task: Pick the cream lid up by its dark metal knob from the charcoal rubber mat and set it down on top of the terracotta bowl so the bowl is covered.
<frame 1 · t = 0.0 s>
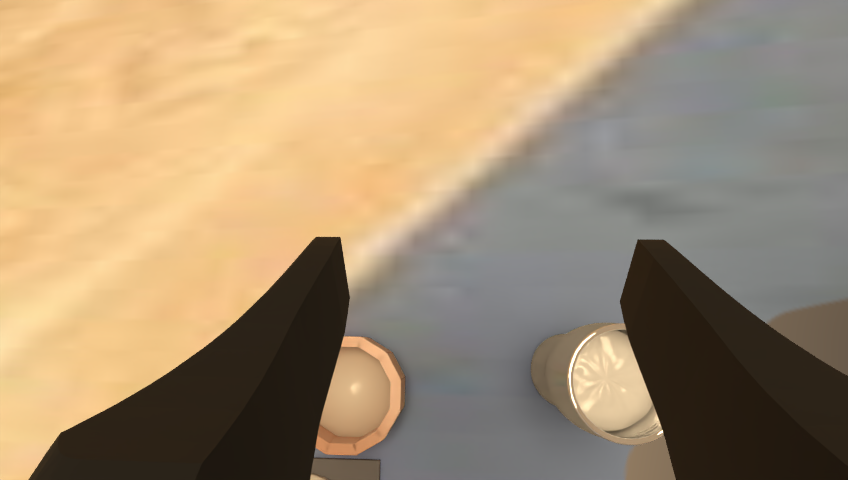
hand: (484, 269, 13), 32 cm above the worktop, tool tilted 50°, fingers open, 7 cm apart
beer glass: (566, 370, 43), on the worktop
bowl: (353, 390, 44), on the worktop
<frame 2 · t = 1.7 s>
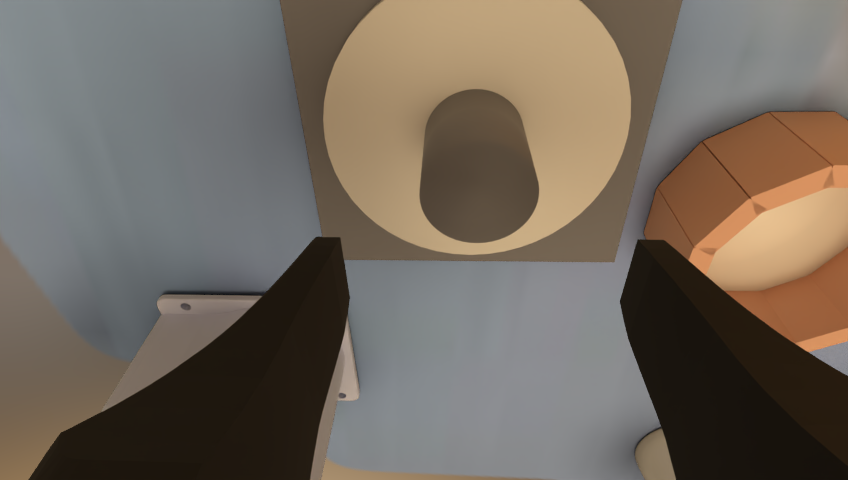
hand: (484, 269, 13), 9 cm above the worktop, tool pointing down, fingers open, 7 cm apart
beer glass: (683, 445, 32), on the worktop
mat: (472, 123, 20), on the worktop
bowl: (757, 211, 21), on the worktop
lid: (473, 127, 19), resting on mat
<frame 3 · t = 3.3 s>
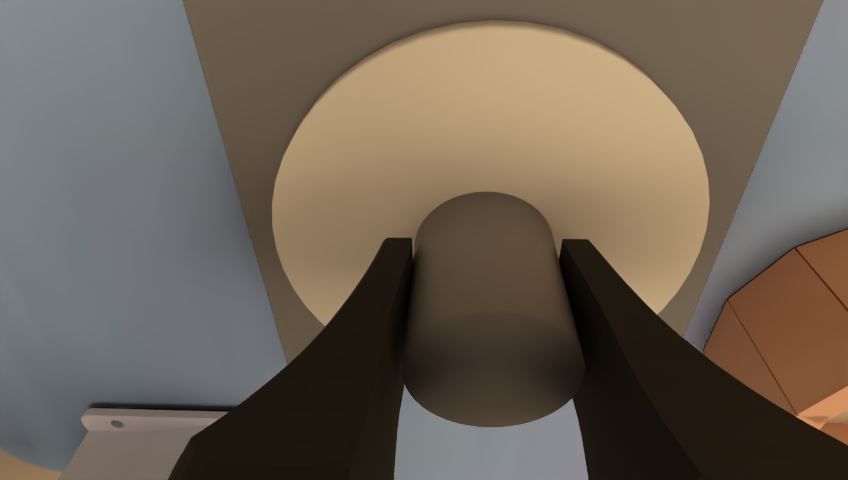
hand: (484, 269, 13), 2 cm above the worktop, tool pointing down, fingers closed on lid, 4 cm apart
mat: (481, 223, 14), on the worktop
lid: (481, 231, 14), resting on mat, touching gripper
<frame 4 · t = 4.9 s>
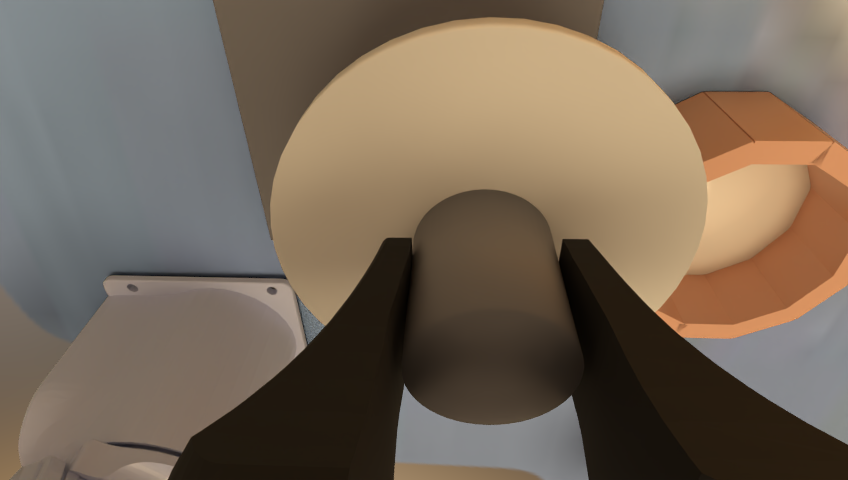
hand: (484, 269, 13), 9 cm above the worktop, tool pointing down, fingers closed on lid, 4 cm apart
mat: (409, 100, 20), on the worktop
bowl: (698, 193, 21), on the worktop
lid: (480, 229, 14), point 7 cm above the worktop, touching gripper
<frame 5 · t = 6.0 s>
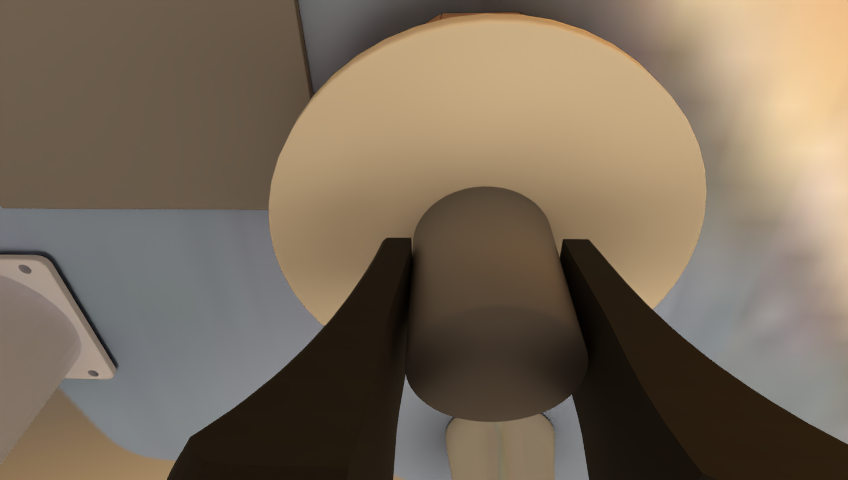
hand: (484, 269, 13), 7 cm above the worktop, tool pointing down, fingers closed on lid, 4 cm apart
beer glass: (499, 431, 29), on the worktop
mat: (100, 31, 16), on the worktop
lid: (479, 227, 14), point 5 cm above the worktop, touching gripper
when the fingers open (7 cm above the worktop, at t = 6.8 s): lid stays where it is, resting on bowl.
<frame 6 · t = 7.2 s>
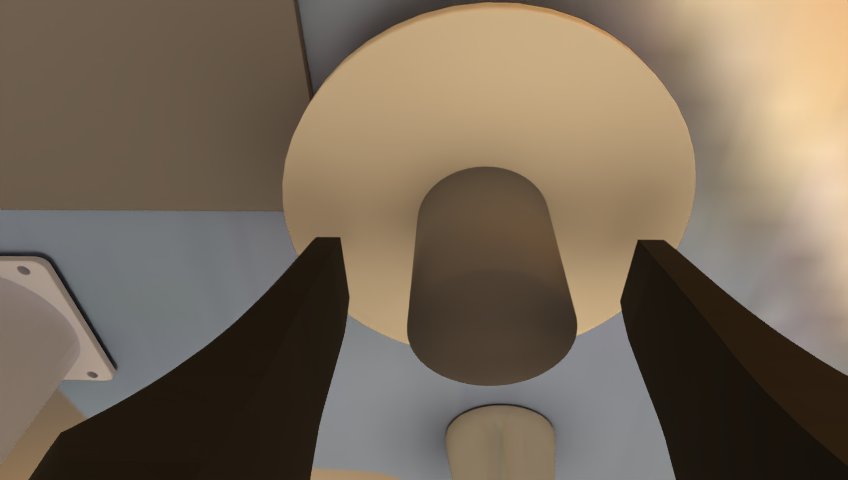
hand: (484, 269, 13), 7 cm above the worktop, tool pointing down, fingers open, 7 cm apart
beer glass: (499, 432, 29), on the worktop
mat: (98, 32, 16), on the worktop
lid: (481, 207, 15), point 4 cm above the worktop, touching bowl
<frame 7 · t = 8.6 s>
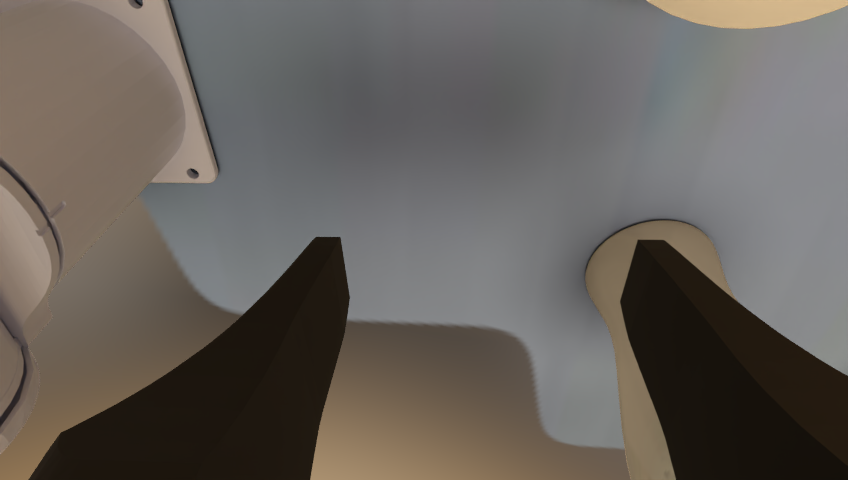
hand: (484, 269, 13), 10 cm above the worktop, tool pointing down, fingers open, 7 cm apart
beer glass: (646, 266, 25), on the worktop
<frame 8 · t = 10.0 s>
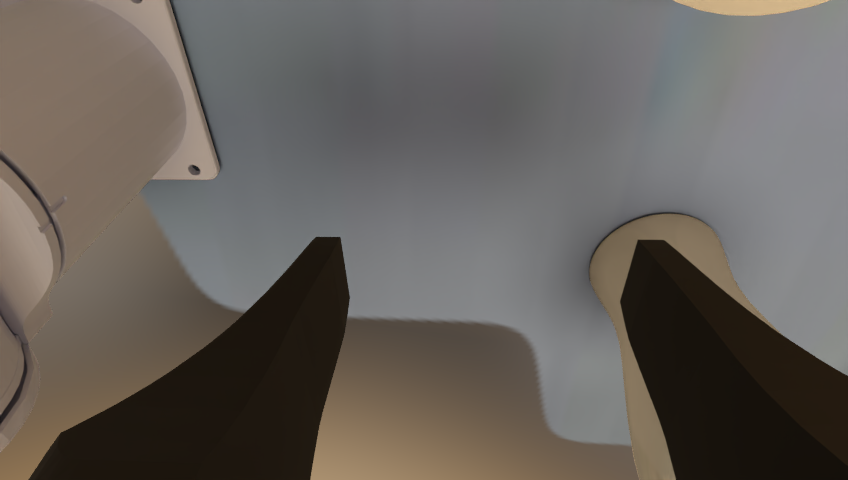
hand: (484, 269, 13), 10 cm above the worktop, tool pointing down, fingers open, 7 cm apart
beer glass: (651, 260, 25), on the worktop
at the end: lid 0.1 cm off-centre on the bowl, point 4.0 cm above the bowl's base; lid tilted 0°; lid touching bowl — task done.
